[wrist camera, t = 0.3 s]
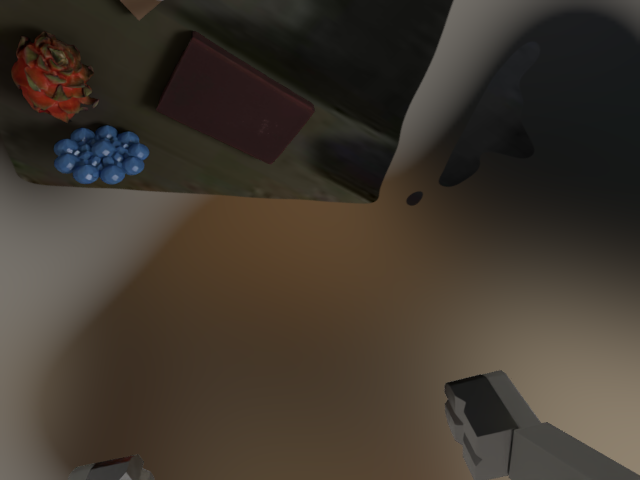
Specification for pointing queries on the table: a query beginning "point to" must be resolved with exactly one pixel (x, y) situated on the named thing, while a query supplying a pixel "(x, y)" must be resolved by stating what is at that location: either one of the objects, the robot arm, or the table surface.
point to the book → (232, 101)
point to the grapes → (100, 155)
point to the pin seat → (140, 6)
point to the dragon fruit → (52, 76)
